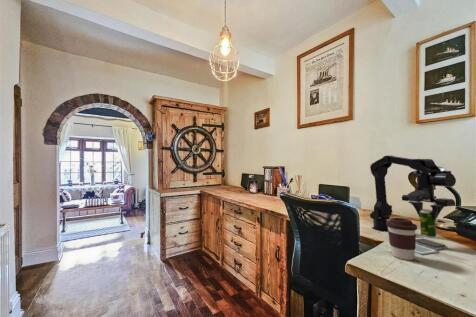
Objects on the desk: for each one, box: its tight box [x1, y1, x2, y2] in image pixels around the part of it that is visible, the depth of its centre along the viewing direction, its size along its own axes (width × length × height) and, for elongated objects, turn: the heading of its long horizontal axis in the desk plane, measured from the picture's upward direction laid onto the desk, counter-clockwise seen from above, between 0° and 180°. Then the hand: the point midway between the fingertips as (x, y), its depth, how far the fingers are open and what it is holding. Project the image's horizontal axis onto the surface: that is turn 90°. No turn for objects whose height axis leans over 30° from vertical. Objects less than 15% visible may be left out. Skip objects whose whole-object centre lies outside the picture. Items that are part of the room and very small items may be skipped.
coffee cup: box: [386, 217, 418, 261], centre depth 83 cm, size 10×10×15 cm
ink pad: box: [416, 238, 449, 251], centre depth 94 cm, size 10×8×2 cm
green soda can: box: [419, 208, 437, 239], centre depth 95 cm, size 5×5×12 cm
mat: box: [415, 244, 440, 256], centre depth 90 cm, size 10×10×1 cm
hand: (427, 218), depth 95 cm, fingers closed on green soda can, 5 cm apart
